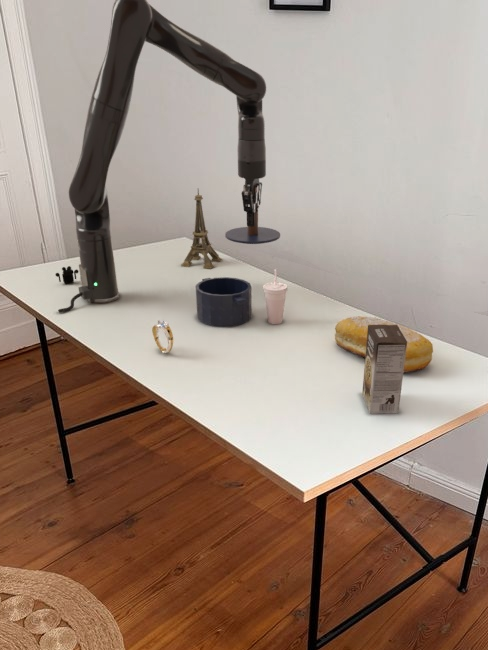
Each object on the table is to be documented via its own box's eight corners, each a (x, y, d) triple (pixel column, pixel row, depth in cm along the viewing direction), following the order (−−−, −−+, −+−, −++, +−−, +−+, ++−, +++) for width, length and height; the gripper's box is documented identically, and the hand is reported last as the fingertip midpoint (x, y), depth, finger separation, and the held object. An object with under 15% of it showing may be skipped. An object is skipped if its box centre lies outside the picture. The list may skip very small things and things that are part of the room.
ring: (177, 355, 165) (174, 324, 160) (165, 359, 163) (162, 327, 159) (163, 346, 170) (160, 315, 165) (151, 349, 168) (148, 318, 163)
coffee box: (360, 394, 150) (367, 324, 141) (389, 393, 150) (397, 323, 141) (368, 414, 142) (375, 341, 133) (399, 413, 143) (408, 341, 134)
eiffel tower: (180, 265, 223) (175, 183, 208) (192, 256, 231) (188, 177, 217) (211, 269, 220) (207, 186, 206) (222, 259, 229) (219, 179, 214)
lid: (242, 249, 185) (242, 221, 181) (215, 235, 196) (214, 209, 192) (290, 240, 192) (291, 214, 188) (261, 228, 203) (261, 202, 199)
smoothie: (288, 317, 186) (289, 266, 178) (285, 326, 181) (286, 274, 173) (264, 316, 187) (264, 265, 179) (261, 325, 182) (261, 273, 174)
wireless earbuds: (79, 280, 210) (76, 264, 207) (82, 282, 208) (79, 266, 205) (56, 284, 206) (53, 267, 203) (59, 286, 205) (56, 270, 202)
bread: (407, 382, 155) (411, 349, 150) (321, 347, 170) (323, 316, 166) (441, 364, 163) (446, 333, 158) (356, 332, 178) (359, 303, 174)
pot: (218, 334, 176) (217, 302, 171) (184, 310, 190) (181, 280, 185) (266, 323, 183) (266, 292, 178) (229, 300, 196) (229, 271, 192)
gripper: (244, 152, 188) (245, 217, 198) (231, 161, 177) (233, 230, 187) (271, 153, 187) (271, 219, 197) (259, 163, 176) (259, 232, 186)
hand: (252, 224), depth 192 cm, fingers closed on lid, 3 cm apart
